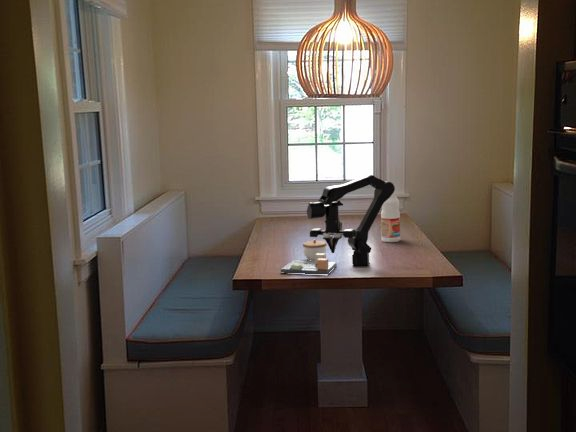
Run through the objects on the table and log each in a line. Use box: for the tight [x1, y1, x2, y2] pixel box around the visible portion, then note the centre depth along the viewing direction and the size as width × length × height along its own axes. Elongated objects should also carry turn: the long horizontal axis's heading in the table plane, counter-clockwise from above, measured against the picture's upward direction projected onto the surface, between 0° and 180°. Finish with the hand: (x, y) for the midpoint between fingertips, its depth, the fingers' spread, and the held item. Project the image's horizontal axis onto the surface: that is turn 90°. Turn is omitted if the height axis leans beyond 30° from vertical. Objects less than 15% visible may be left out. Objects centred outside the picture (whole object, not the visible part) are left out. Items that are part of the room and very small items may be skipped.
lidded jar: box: [302, 238, 328, 261], centre depth 309 cm, size 11×11×9 cm
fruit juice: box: [380, 184, 401, 243], centre depth 343 cm, size 9×9×28 cm
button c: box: [291, 264, 302, 270], centre depth 287 cm, size 4×4×3 cm
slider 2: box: [317, 257, 329, 270], centre depth 283 cm, size 4×3×4 cm
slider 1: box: [315, 253, 327, 264], centre depth 293 cm, size 4×3×4 cm
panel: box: [280, 259, 338, 275], centre depth 291 cm, size 20×16×2 cm
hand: (333, 252), depth 291 cm, fingers closed
